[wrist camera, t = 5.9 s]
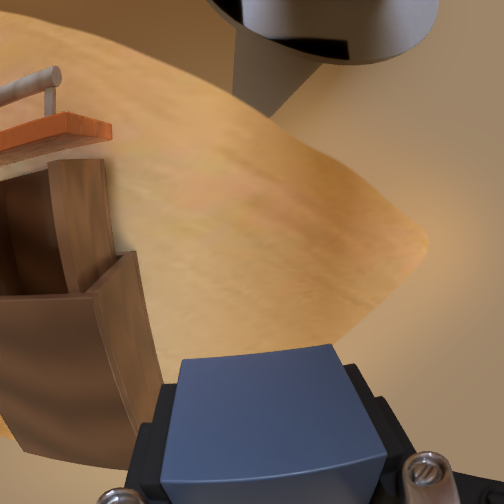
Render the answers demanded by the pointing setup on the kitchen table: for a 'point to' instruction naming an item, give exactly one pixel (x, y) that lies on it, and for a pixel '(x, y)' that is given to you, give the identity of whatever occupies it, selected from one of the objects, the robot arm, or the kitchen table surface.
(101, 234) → the drawer
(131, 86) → the kitchen table surface
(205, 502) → the block
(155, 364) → the cabinet
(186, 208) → the kitchen table surface
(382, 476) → the robot arm
